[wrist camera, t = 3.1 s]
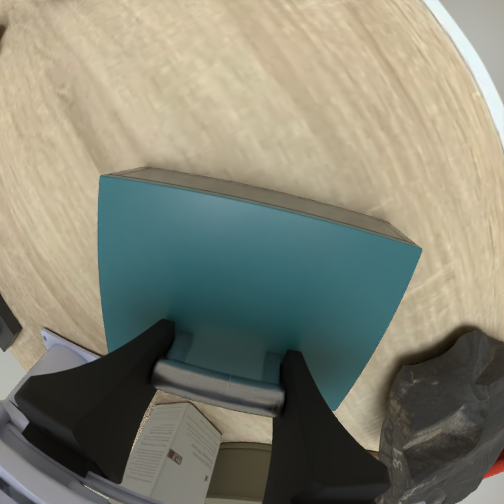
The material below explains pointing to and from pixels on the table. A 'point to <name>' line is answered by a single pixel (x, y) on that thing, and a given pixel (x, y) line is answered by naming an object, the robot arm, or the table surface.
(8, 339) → the block
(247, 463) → the can
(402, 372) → the stone
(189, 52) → the table surface
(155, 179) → the dark gray box base
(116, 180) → the teal flat panel
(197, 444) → the cosmetic box
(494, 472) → the flare gun
